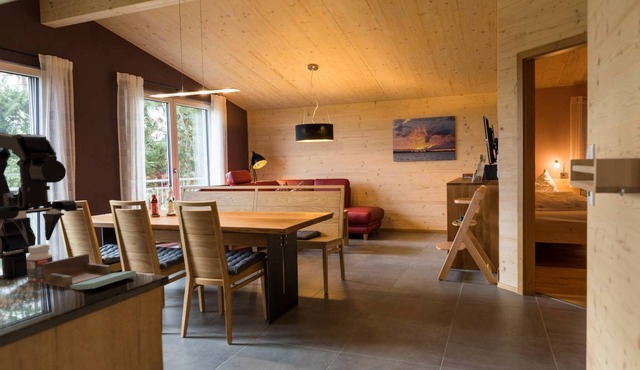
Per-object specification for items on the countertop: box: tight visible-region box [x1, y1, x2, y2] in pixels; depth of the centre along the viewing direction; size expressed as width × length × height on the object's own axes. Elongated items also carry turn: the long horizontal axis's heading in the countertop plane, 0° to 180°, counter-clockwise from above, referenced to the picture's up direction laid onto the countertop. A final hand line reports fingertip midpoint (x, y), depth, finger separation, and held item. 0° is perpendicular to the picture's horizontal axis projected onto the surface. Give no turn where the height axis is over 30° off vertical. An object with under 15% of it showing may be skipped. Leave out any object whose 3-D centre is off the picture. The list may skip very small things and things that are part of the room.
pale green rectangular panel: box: [69, 270, 137, 291], centre depth 108 cm, size 1×12×9 cm
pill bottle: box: [26, 243, 54, 284], centre depth 113 cm, size 6×6×10 cm
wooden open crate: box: [42, 253, 112, 289], centre depth 113 cm, size 10×12×6 cm
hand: (38, 241), depth 113 cm, fingers open, 4 cm apart
